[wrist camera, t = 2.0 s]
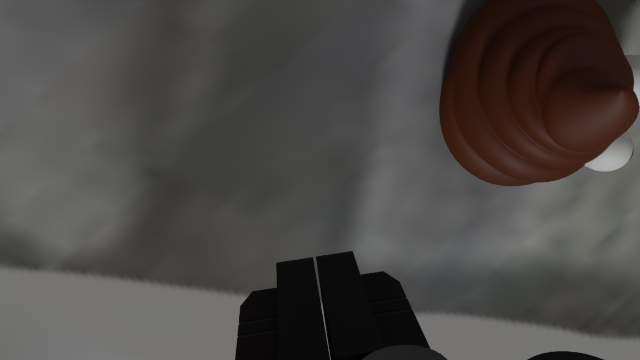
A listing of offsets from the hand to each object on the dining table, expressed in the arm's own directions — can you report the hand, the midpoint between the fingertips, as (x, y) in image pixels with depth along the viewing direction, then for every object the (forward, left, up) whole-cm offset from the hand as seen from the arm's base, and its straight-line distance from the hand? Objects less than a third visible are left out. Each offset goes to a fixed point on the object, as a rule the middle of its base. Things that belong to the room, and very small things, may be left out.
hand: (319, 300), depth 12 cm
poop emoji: (0, +12, -19) cm, 23 cm away
